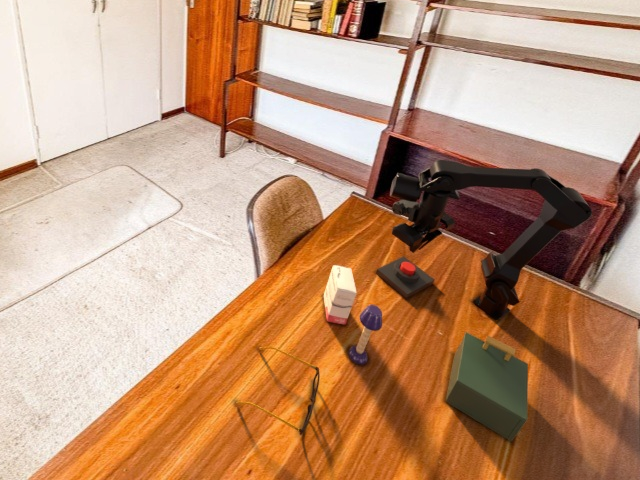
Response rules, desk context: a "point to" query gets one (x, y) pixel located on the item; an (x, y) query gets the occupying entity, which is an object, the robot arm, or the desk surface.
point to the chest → (480, 406)
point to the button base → (404, 278)
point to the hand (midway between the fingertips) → (414, 250)
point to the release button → (407, 268)
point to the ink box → (339, 294)
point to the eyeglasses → (310, 407)
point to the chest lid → (494, 374)
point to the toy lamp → (366, 332)
